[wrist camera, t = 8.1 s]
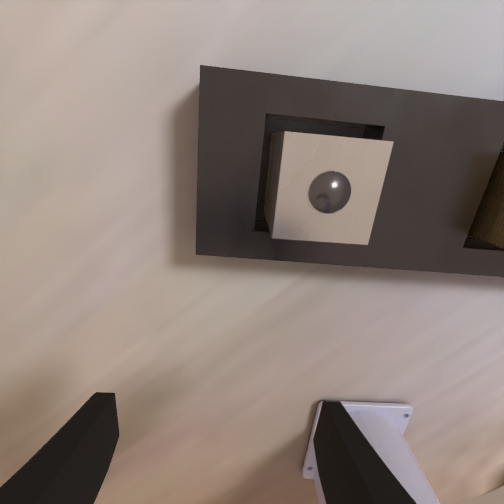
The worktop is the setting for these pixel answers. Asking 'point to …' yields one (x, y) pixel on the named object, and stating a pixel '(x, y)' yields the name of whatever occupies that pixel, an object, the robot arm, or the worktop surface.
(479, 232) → the yellow block with knob
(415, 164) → the dark grey socket board
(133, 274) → the worktop surface
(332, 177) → the cube with round knob
